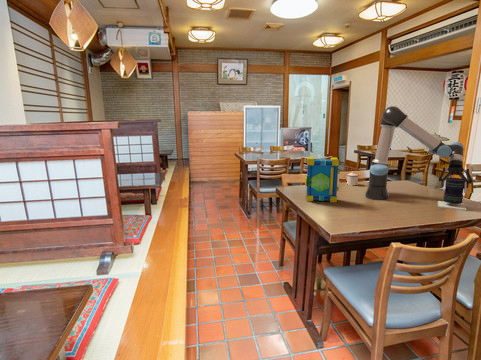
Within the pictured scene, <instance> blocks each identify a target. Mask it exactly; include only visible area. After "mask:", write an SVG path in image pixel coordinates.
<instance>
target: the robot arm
mask: <svg viewBox="0 0 481 360" xmlns="http://www.w3.org/2000/svg"><path fill="white" fill-rule="evenodd" d="M381 113H382V114H381V118H380V119H381V120H380V124H379V125H380V127H381V129H380V135H379V137H378V138H379V139H378V142H377V147H376V152H375V156H374V159H372V161H371V165H370V168H369V178H368V186H367V189H366V191H365V193H364V194H365V196H364V197H365V198H367V199H370V200H377V201H387V200H388V199H389V193H388V189H387V185H388V177H389V176H388V173H389V164H390V163H389V161H388V159H389V154H390V151H391V147H392V143H393V138H394V133H395V130H396V129H397V128H400V129H401V130H403V131H404V132H405V133H407V134H408V135H409V136H411V137H412V138H414V139H415V140H417V141H418V142H419V143H420V144H422V145H423V146H425V147H426V148H427V149H428V150H427V151H428V153H429V154H432V155H436V156H438V157H440V158H448V167H447V168H446V167H442V170H441V171H442V172H441V173H440V175H439V177H438V182H441V186H442V187H443V188H442V189H443V191H442V192H445V185H446V178H450V177H451V176H452V175H453V176H459V178H461V179H465V186H464V189H463V194H467V189H468V188H469V186H470V184H472V183H473V179H472V176H471V173H470V168H467V169H465V168H464V166H463V165H464V150H465V148H464V145H463V143H462V142H459V141H456V142H452V143H450V144H445V143H444V142H442V141H441V140H439V139H438V138H437V137H435V136H434V135H432V134H431V133H429V131H428V130H427V131H426V129H424V128H423V127H421V126H419V124H417V123H415V122H414V121H413V120H411V119H410V118H409V116H408V115H407V114H406V113H404V112H403V110H402V109H400V108H399V107H397V106H394V105H393V106H388V107H386V108H385V109H384V110H383V111H382V112H381ZM446 172H447V174H446V175H445V173H446ZM463 172H464V173H463ZM444 175H445V176H444Z"/></svg>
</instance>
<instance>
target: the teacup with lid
mask: <svg viewBox="0 0 481 360" xmlns="http://www.w3.org/2000/svg"><path fill="white" fill-rule="evenodd" d="M345 179H346V181H347V182H346V185H347V184H348V185H347V186H350V185H357V186H358V184H359V183H358V182H359V174H357V173H356V172H355V171H351V172H350V173H348V174H347V175H346V176H345Z"/></svg>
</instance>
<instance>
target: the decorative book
mask: <svg viewBox="0 0 481 360" xmlns="http://www.w3.org/2000/svg"><path fill="white" fill-rule="evenodd" d="M306 161H307V162H306V164H307V165H306V166H307V167H306V168H307V173H306V175H305V177H304V186H305V187H306V192H305V198H306V202H307V201H313V202H314V201H319V202H325V201H329V203H330V202H337V203H338V201H337V199H338V196H337V192H339V190H340V187H339V186H338V176H339V174H341V170H339V166H340V159H338V157H330V159H328V158H327V159H326V158H318V159H316V158H315V157H309V156H308V157H307V160H306Z"/></svg>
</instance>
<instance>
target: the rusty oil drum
mask: <svg viewBox="0 0 481 360" xmlns="http://www.w3.org/2000/svg"><path fill="white" fill-rule="evenodd" d="M464 186H465V179H462V178H461V177H448V178H446V185H445V191H443V199H442V201H444V202H447V203H452V204H461V203H462V204H463V198H464Z"/></svg>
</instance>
